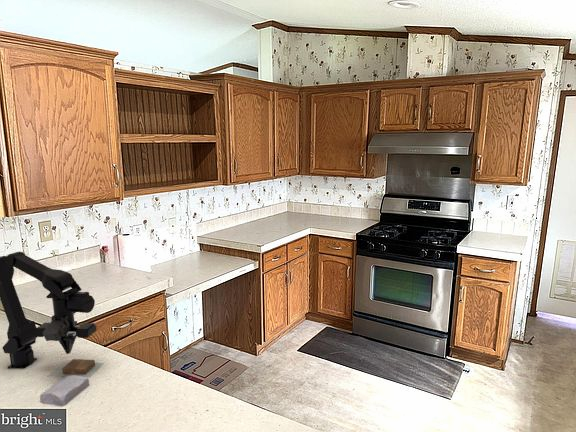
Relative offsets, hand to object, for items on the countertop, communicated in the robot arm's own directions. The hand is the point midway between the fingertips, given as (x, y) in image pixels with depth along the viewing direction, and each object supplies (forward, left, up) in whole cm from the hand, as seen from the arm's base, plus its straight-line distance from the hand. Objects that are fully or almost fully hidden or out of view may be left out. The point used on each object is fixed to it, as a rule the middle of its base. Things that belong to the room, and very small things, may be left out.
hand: (68, 353), depth 139 cm
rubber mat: (+2, 0, -6) cm, 7 cm away
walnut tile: (-1, 0, -5) cm, 5 cm away
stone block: (+6, -13, -7) cm, 16 cm away
